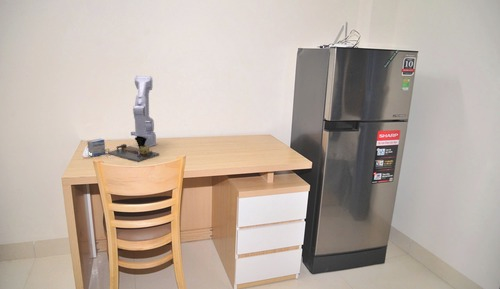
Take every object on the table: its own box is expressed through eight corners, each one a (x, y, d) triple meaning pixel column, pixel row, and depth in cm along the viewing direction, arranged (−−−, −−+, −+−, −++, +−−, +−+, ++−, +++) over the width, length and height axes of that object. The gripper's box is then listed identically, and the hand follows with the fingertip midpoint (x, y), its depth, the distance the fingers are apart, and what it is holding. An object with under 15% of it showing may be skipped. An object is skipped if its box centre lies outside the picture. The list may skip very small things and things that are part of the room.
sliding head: (146, 152, 190) (145, 144, 189) (149, 153, 189) (149, 145, 188) (136, 155, 185) (136, 147, 183) (140, 156, 183) (140, 148, 182)
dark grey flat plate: (129, 147, 203) (129, 145, 203) (159, 155, 192) (159, 153, 191) (107, 153, 190) (107, 152, 189) (138, 162, 178) (138, 160, 178)
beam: (124, 148, 198) (124, 144, 197) (152, 155, 187) (152, 150, 186) (116, 150, 193) (115, 146, 192) (144, 158, 182) (144, 153, 181)
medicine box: (93, 157, 183) (91, 142, 181) (88, 155, 185) (87, 140, 183) (105, 153, 190) (104, 139, 187) (100, 152, 192) (99, 138, 190)
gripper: (125, 125, 185) (127, 148, 189) (144, 129, 178) (145, 152, 182) (135, 123, 191) (136, 145, 195) (153, 127, 184) (154, 150, 188)
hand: (141, 149), depth 189 cm, fingers closed
